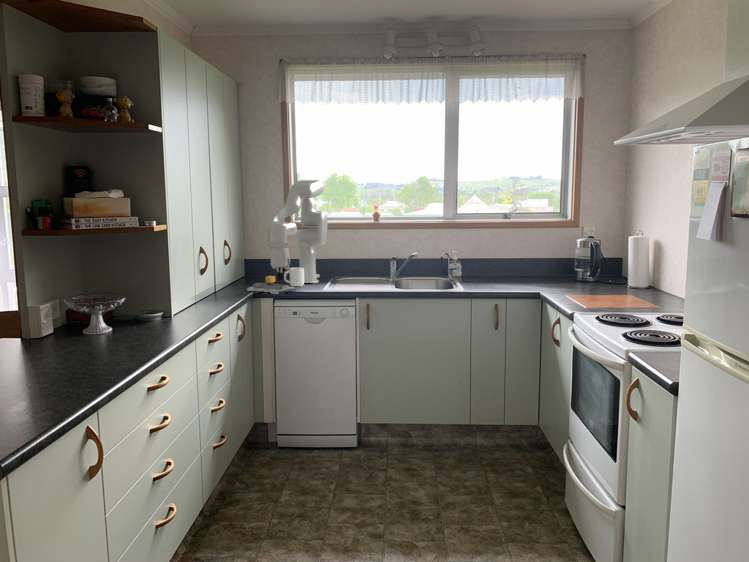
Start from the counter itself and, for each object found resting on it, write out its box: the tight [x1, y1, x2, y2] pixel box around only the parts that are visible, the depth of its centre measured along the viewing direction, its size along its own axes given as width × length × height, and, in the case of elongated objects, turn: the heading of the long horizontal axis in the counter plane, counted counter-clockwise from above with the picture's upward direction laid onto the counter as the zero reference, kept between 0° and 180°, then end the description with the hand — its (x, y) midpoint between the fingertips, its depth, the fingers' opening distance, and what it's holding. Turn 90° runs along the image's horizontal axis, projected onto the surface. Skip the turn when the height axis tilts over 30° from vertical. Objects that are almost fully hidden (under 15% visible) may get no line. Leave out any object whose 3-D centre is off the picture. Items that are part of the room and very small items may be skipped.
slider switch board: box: [246, 282, 295, 295], centre depth 330 cm, size 14×21×4 cm, turn 61°
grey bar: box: [279, 287, 297, 295], centre depth 324 cm, size 13×1×1 cm, turn 151°
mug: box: [283, 266, 305, 287], centre depth 346 cm, size 12×8×10 cm
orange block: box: [265, 275, 276, 285], centre depth 329 cm, size 4×4×6 cm
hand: (281, 279), depth 325 cm, fingers closed
